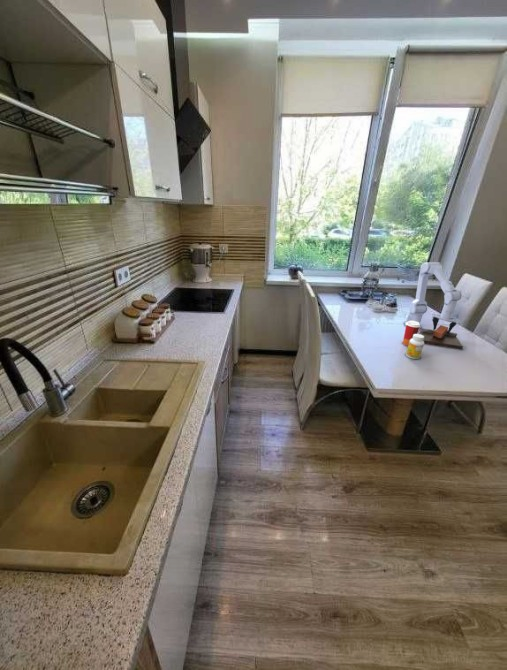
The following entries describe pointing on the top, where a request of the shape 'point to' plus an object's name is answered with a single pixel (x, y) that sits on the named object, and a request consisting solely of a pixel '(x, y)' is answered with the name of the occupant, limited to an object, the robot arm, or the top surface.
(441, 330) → the reddish orange block
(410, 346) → the supplement bottle
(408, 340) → the paper cup
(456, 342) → the shelf board
